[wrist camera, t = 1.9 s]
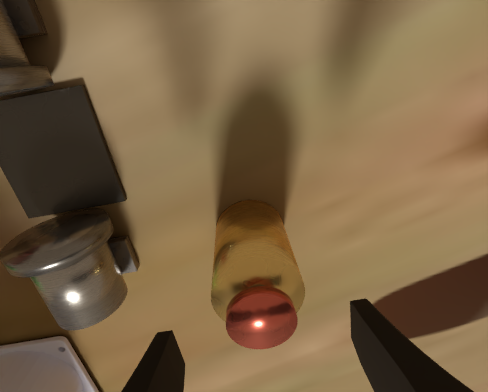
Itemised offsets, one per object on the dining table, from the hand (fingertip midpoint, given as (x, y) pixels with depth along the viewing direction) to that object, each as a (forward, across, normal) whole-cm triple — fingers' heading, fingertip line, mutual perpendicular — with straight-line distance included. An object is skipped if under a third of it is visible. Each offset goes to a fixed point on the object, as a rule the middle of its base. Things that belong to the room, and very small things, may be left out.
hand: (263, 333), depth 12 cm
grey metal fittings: (+8, +10, -7) cm, 15 cm away
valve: (+8, 0, 0) cm, 8 cm away
